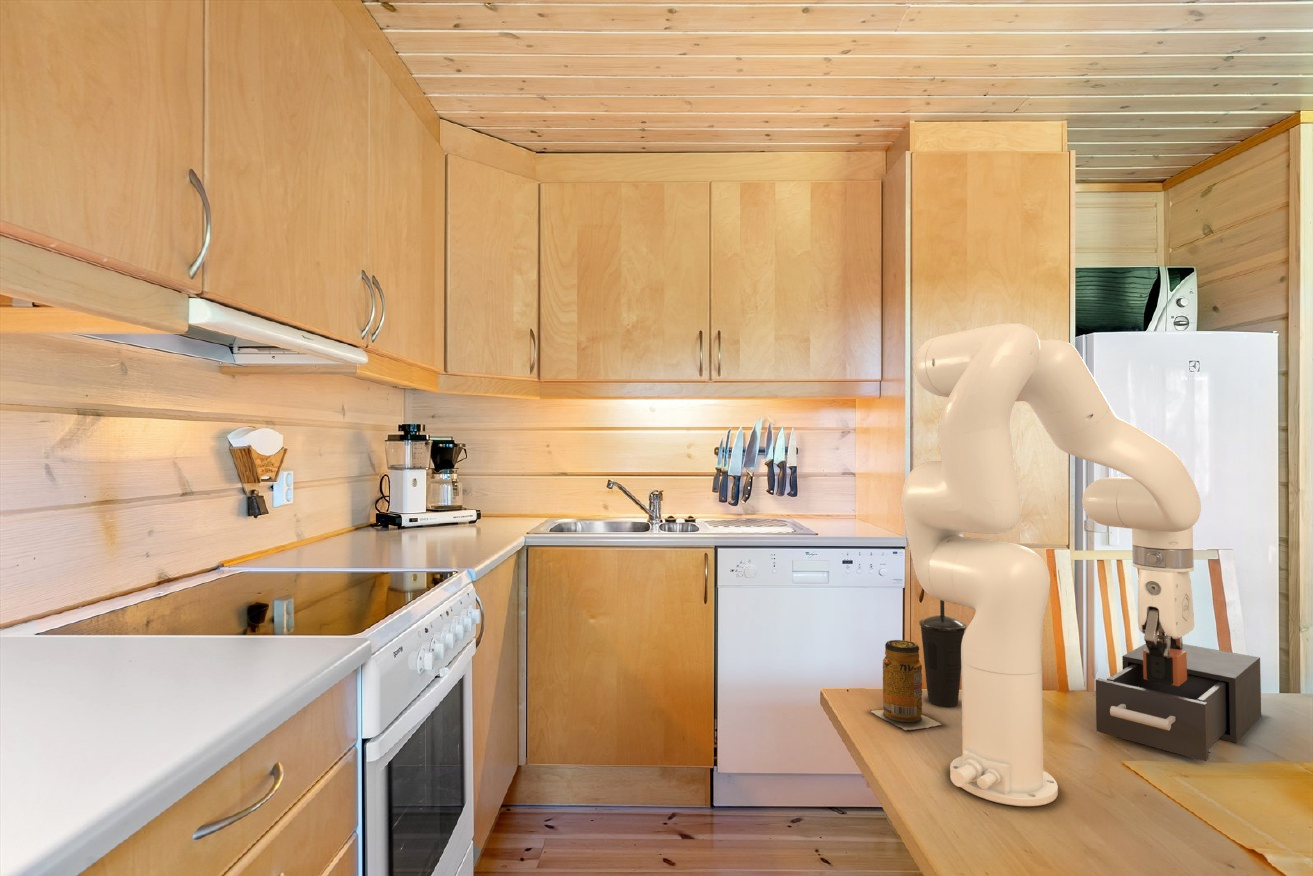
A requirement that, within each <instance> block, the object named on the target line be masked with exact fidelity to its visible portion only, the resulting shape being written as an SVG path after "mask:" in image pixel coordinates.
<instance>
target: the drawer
mask: <svg viewBox="0 0 1313 876" xmlns="http://www.w3.org/2000/svg"><path fill="white" fill-rule="evenodd" d="M1095 727H1096V732H1098V733H1102V734H1106V735H1109V736H1112V737H1116V738H1120V739H1123V740H1127V741H1129V742H1134V743H1138V744H1141V745H1145V746H1148V747H1153V748H1155V749H1159V750H1162V751H1165V752H1166V751H1167V752H1170V753H1173V754H1178V755H1182V756H1185V757H1187V758H1192V759H1195V760H1198V761H1201V762H1207V761H1209V756H1210V755H1209V749H1210V748H1211V747H1212V746H1213V745H1215V743H1216V742H1217V741H1218V740H1220V739H1219V738H1220V737H1221V736H1222V735H1223V734H1224V733H1225V732H1226V731H1227V730H1228V688H1227V682H1225V681H1220V680H1215V679H1210V678H1205V677H1200V676H1195V675H1190V674H1187V680H1186V681H1185V682H1184V683H1182V684H1181V685H1180V686H1173V685H1167V684H1162V683H1157V682H1153V681H1149V680H1145V679H1144V672H1143V665H1141V664H1136V663H1134V664H1132V665H1130V666H1129V667H1127V668H1125V669H1123V668H1122V669H1121V670H1119V671H1118V672H1116V673H1114V674H1113V675H1111V676H1110V677H1108V678H1106V679H1103V678H1097V679H1095Z"/></svg>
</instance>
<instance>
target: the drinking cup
mask: <svg viewBox="0 0 1313 876" xmlns="http://www.w3.org/2000/svg"><path fill="white" fill-rule="evenodd" d="M918 625H919V626H920V632H921V633H920V634H921V642H922V652H923V653H922V654H923V662H924V672H925V683H926V693H927V701H928V703H930V704H932V705H935V706H937V707H944V708H954V707H957V706H958V705H959V697H960V688H961V687H960V686H961V678H962V676H961V644H962V639H963V635H964V633H965V631H966V629H967V627H968V626H967V624H966V623H965V622H963V621H960V620H958V619H957V618H955V617H952V616H948V615H945V601H942V600H939V615H938V614H936V615H931V616H927V617H925V618H922V619H920V620H919V621H918Z"/></svg>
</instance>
